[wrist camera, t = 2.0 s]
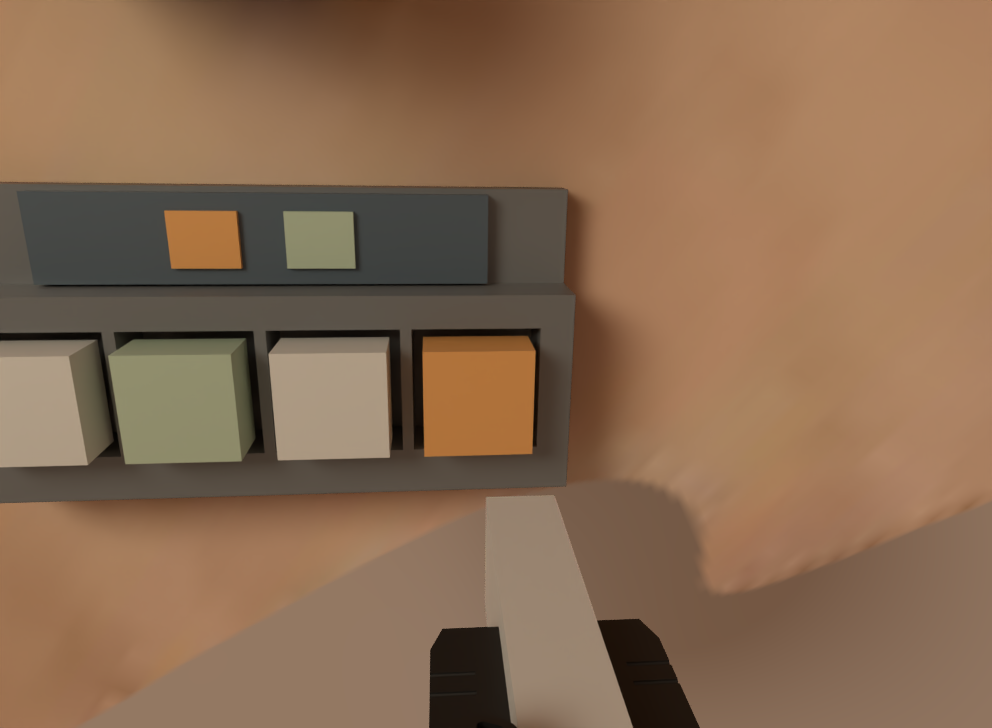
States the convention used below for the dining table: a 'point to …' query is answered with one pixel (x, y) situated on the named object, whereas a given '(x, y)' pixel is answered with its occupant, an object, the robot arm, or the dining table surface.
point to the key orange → (478, 395)
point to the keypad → (292, 311)
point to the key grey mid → (332, 397)
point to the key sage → (183, 400)
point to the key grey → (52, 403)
